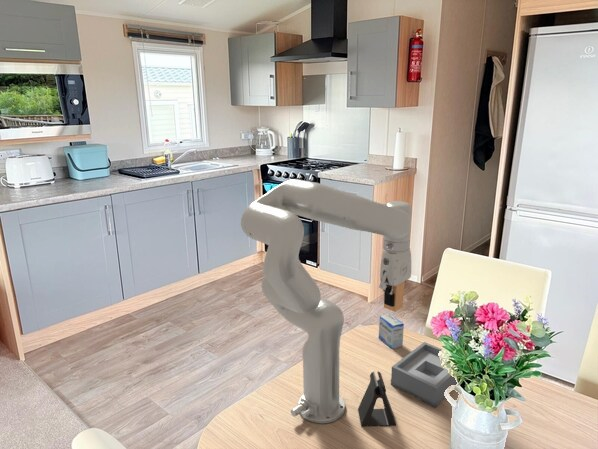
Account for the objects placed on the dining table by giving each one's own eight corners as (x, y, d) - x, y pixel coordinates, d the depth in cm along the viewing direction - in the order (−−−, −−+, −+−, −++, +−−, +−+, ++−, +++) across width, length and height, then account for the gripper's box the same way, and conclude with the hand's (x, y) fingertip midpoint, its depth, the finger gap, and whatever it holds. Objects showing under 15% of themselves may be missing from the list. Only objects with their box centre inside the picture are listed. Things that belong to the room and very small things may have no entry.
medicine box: (378, 338, 149) (378, 315, 147) (388, 335, 151) (389, 312, 149) (392, 349, 143) (393, 326, 140) (403, 346, 144) (404, 323, 142)
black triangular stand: (391, 409, 115) (393, 370, 112) (396, 426, 109) (398, 385, 106) (357, 410, 115) (358, 371, 112) (360, 426, 110) (361, 386, 106)
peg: (395, 311, 127) (396, 280, 124) (383, 307, 130) (385, 276, 127) (402, 307, 130) (404, 276, 127) (391, 303, 133) (392, 272, 130)
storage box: (435, 407, 116) (436, 388, 114) (390, 384, 125) (391, 366, 123) (465, 377, 128) (467, 359, 126) (423, 358, 137) (424, 341, 136)
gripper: (390, 255, 116) (388, 316, 121) (423, 240, 127) (419, 297, 132) (368, 248, 121) (366, 307, 126) (401, 235, 132) (398, 290, 138)
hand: (393, 301), depth 129 cm, fingers closed on peg, 4 cm apart
